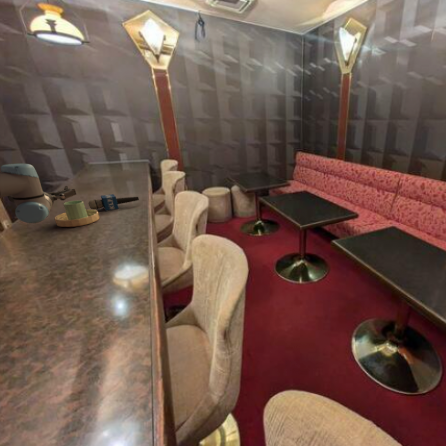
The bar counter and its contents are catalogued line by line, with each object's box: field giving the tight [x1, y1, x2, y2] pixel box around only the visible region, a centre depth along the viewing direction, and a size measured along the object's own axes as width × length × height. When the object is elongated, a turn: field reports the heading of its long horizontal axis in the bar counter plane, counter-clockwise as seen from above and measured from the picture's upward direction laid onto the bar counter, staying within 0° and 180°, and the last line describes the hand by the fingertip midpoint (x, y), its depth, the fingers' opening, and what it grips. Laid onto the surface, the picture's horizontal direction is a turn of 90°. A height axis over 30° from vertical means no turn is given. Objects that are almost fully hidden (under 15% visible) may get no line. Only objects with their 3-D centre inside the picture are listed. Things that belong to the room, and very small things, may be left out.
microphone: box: [88, 193, 140, 212], centre depth 151 cm, size 8×8×25 cm
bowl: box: [54, 208, 101, 228], centre depth 129 cm, size 17×17×4 cm
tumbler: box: [62, 199, 88, 220], centre depth 128 cm, size 8×8×10 cm
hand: (46, 190), depth 109 cm, fingers open, 13 cm apart
